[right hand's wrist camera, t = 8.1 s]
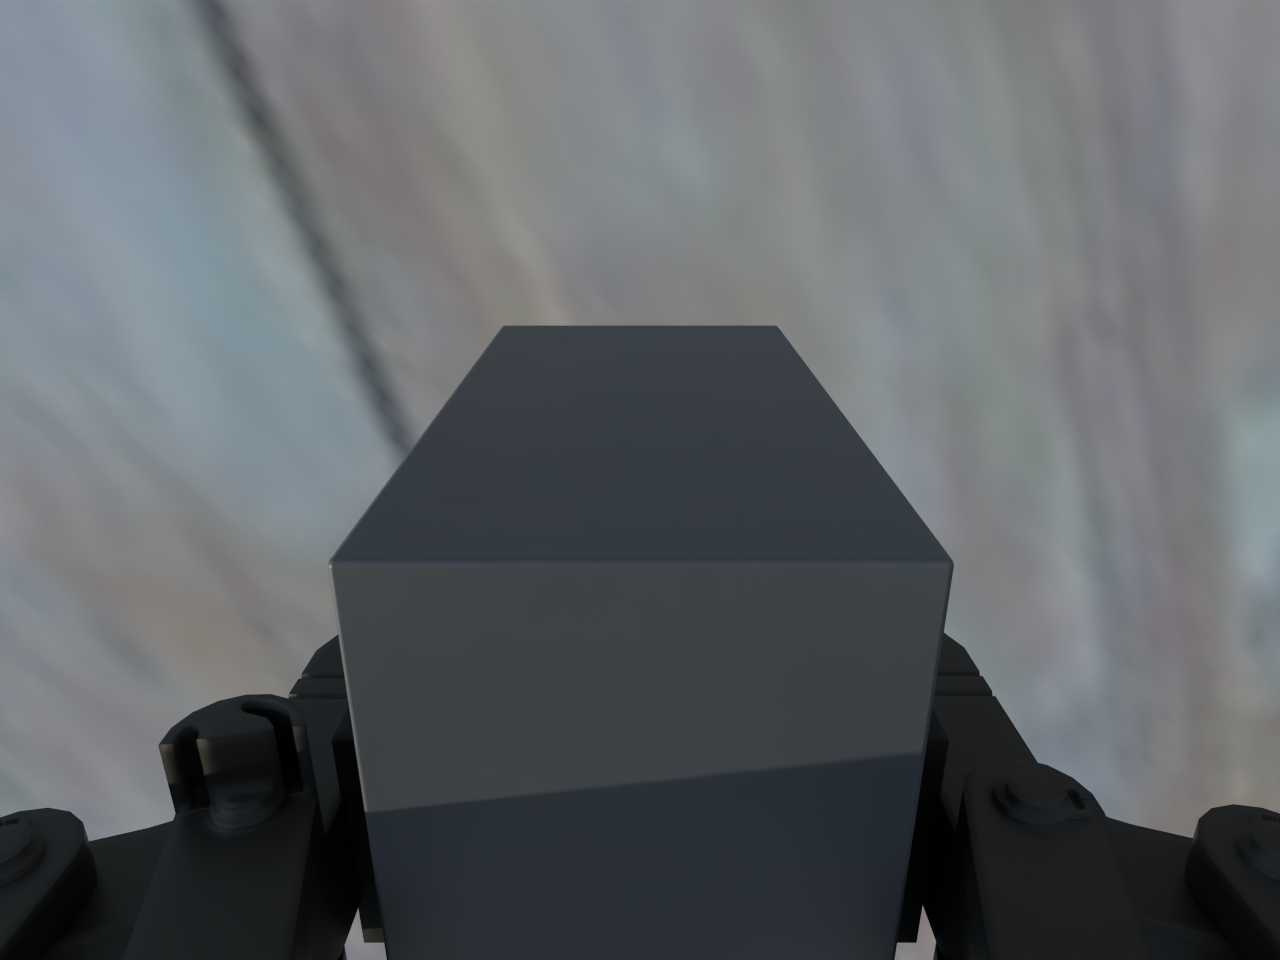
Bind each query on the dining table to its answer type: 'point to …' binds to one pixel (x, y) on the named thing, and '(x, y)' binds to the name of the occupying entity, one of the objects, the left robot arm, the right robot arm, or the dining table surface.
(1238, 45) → the dining table surface
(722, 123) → the dining table surface
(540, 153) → the dining table surface
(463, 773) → the bar
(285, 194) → the dining table surface
